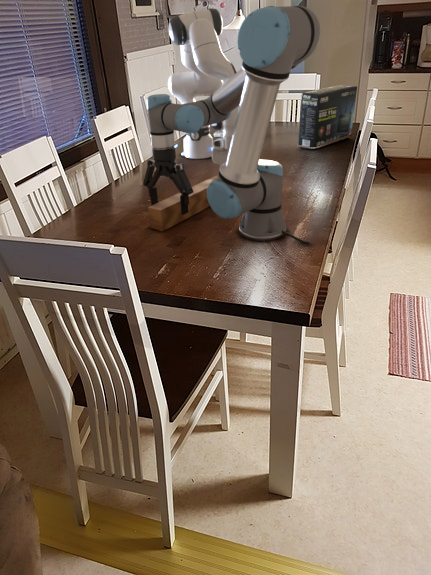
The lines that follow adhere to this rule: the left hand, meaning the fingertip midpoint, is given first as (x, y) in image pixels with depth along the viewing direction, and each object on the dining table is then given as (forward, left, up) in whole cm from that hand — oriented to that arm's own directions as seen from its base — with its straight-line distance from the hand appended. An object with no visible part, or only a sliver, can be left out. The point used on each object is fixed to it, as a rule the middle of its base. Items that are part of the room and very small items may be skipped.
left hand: (234, 177), depth 185 cm
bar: (+19, -8, -5) cm, 21 cm away
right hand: (+37, -16, 0) cm, 41 cm away
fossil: (-85, -18, -5) cm, 87 cm away
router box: (-77, +35, -5) cm, 85 cm away
